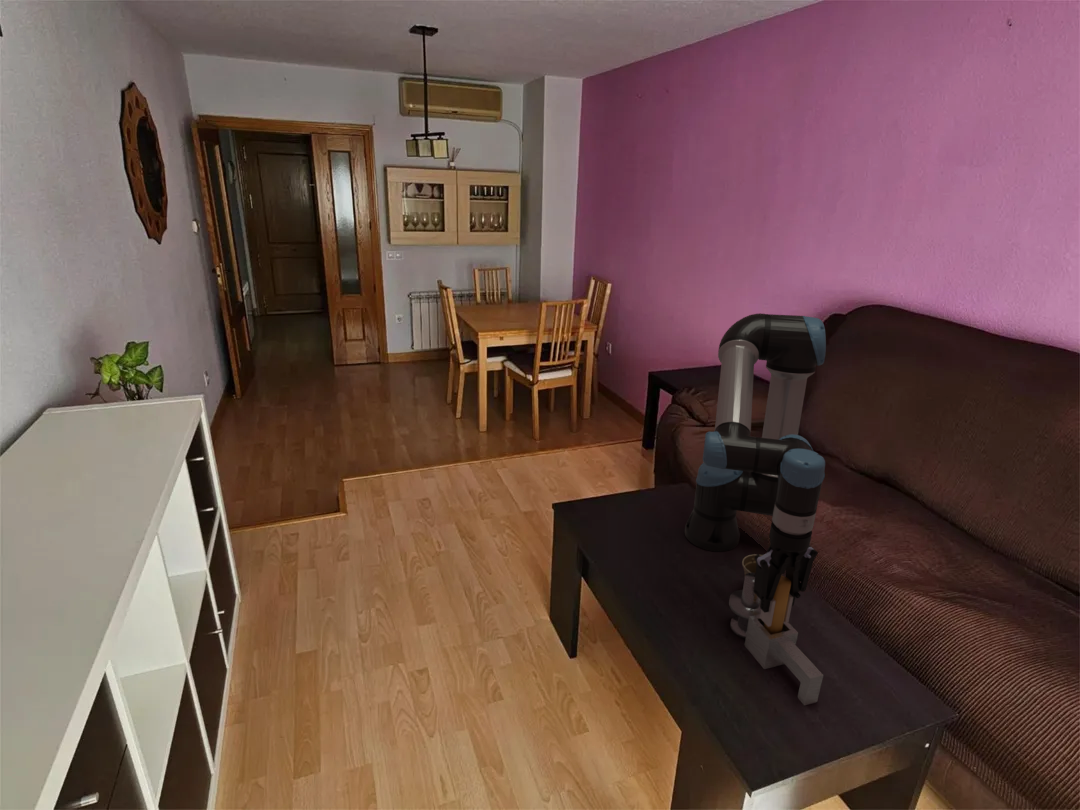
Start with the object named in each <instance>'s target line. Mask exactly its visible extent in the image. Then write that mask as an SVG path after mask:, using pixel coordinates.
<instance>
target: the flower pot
mask: <svg viewBox="0 0 1080 810" xmlns="http://www.w3.org/2000/svg"><path fill="white" fill-rule="evenodd" d="M756 555H757V553H756V554H755V553H754V554H749V555H746V556H744V558H742V562H741V565H742V567H743V571H744V576H745V575H746V574H747V573H751V572H752V573H756V561H755V556H756ZM759 555H760V556H763V555H764V554H759Z"/></svg>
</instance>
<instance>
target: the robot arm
mask: <svg viewBox="0 0 1080 810" xmlns="http://www.w3.org/2000/svg"><path fill="white" fill-rule="evenodd" d="M826 336H827V335H826V328H825V325H824V322H823V321H822V320H821V318H818V317H812V316H806V315H792V314H791V315H790V314H789V315H788V314H771V313H770V314H768V313H753V314H749V315H747V316H744V317H742V318H740V319H738V320H737V321H736V322H735V323H733V324H732V325H731V326H730V327H729V328H728V329H727V330H726V331H725V333H724V334H723V336H722V338H721V339H720V342H719V346H718V351H717V358H718V360H719V362H720V363H721V364H720V365H721V366H720V375H719V385H718V394H717V396H718V397H717V405H716V414H715V415H716V416H715V425H714V431H707V432H706V433H705V435H704V446H703V453H702V463H701V465H700V466H699V468H698V469H697V470H698V471H697V476H696V479H695V483H696V487H695V494H694V503H693V508H692V509H693V510H692V511H691V513H690V515H689V517H688V518H687V521H686V523H685V526H684V535H685V538H686V539H687V540H688V541H689V542H690V543H691V544H692V545H694V546H695V547H697V548H700V549H703V550H704V551H705V550H706V551H709V552H711V551H712V552H725V551H726V552H727V551H730V550H733V549H734V548H736V547H737V546H738V544H739V542H740V537H741V532H740V530H739V526H738V520H737V512H738V511H739V512H746V513H750V514H751V513H752V514H758V515H763V516H764V515H765V516H770V517H771V524H770V530H769V535H768V537H769V542H770V543H769V546H768V548H767V550H766V553H765V554H762V555H763V556H760V555H761V554H757V553H756V554H757V555H756V556H755V561H756V574H755V583H754V593H755V594H756V595H757V596H758V597H759V598H760V599H761V603H760V608H761V609H762V610H761V616H760V618H761V620H762V621H763V622H764V623H765V624H766V625H767V626H768V627H769V626H771V624H772V619H773V614H774V608H775V603H776V601H775V600H774V599H773V597H774V594H775V591H776V589H777V586H778V583H779V580H780V578H781V576H783V574H785V577H787V578H788V579H789V580H790V581H791V587H790V592H789V597H788V602H787V607H786V612H785V618H784V622H785V623H787V622H788V623H790V616H791V611H792V607H794V605H795V600H796V599H800V598H801V594H800V592H802V593H803V592H805V591H807V590H806V589H807V585H808V583H809V582H808V581H809V578H810V575H811V572H812V567H813V564H814V561H815V559H816V557H817V555H818V553H819V551H818V550H816V549H814V548H813V547H812V546H811V540H812V535H813V531H812V530H813V528H814V525H815V519H816V515H817V509H818V505H819V499H820V495H821V489H822V485H823V481H824V479H825V475H826V473H825V468H826V460H825V458H824V457H823V456H822V455H820V454H819V453H818V452H816V451H814V449H813V447H812V445H811V444H810V442H809V441H808V440H807V439H806V438H805V437H804V436H801V435H799V430H800V424H801V417H802V412H803V406H804V399H805V394H806V387H807V382H808V378H809V377H811V376H812V375H813V374H815V373H816V369H817V366H818V367H819V366H821V365H824V363H825V358H826V353H827V352H826V349H827V340H826V339H827V338H826ZM758 361H766V364H765V368H766V369H767V370H768V372H769V373H770V379H769V386H768V387H769V388H768V394H767V401H766V407H765V414H764V415H765V416H764V419H763V420H764V421H763V429H762V436H761V437H760V436H754V435H753V436H752V435H751V432H752V413H753V412H752V409H753V395H754V394H753V392H754V376H755V375H754V372H755V371H754V369H755V365H756V363H757V362H758Z"/></svg>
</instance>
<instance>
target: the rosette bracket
mask: <svg viewBox="0 0 1080 810" xmlns="http://www.w3.org/2000/svg"><path fill="white" fill-rule="evenodd" d="M755 574H756V573H752V572H751V573H747V574H746V575H745V574H744V581H743V586H742V587H743V588H742V589H740V590H739V589H738V590H735V591H733V592H732V593H731V594H730V596H729V600H728V605H729V608H730V610H731V611H732V612H733V614H735V616H733V617H732V618H731V619H730V623H729V624H730V627H729V628H730V629H731V631H732V632H733V633H734V634H735V635H737V636H738V637H740V638H742V639H744V640H745V641H744V647H745V648H746V649H747V651H748V652H749V653H750V654H751V655H752V657H753V658H754V659H755V660H756V661H757V663H758V664H759V665H760V666H761V667H762V669H763V670H766V669H771V668H774V667H778V666H783V665H785V666H786V667H787V669H789V671H790V672H791V673H792V674H793V675H794V676H795V677H796V679H798V681H799V682H800V683H799V684H800V685H799V689H798V693H797V699H798V700H799V701H800V702H801V703H802V705H803V706H807V705H811V704H815V703H817V702H818V699H819V696H820V691H821V687H822V684H823V678H824V674H823V673H822V672H821V671H820V670H819V669H818V668H817V667H816V666H815V664H814V663H813V662H812V661H811V660H810V659H809V658H808V657H807V656H806V654H804V653H803V651H802V650H801V649H799V647H798V646H797V641H798V638H799V637H798V636H799V632H798V631H797V630H796V628H794V627H793V625H792V624H791V623H790V622H787V623H785V622H784V623H783V628H782V632H780V633H776V634H772V635H771V634H770V633H769V632H768V631H767V630H766V629H765V628H764V622H763V621H762V620H761V618H760V616H761V610H762V609H761V608H760V603H761V599H760V598H759V597H758V596H757V595H756V594H755V593H754V583H755Z"/></svg>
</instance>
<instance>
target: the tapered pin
mask: <svg viewBox="0 0 1080 810" xmlns="http://www.w3.org/2000/svg"><path fill="white" fill-rule="evenodd" d="M790 587H791V581H790V580H789V579H788V578H787V577H786V575H781V578H780V580H779V583H778V586H777V589H776V591H775V594H774V597H773V599H774V600H775V601H776V603H775V608H774V614H773V619H772V624H771V626H769V627H768V626H767V625H766V624H765V623H764V628H765V629H766V630H767V631H768V632H769V633H770V634H771V635H772V634H776V633H780V632H782V628H783V623H784V618H785V612H786V607H787V602H788V597H789V592H790Z"/></svg>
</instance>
